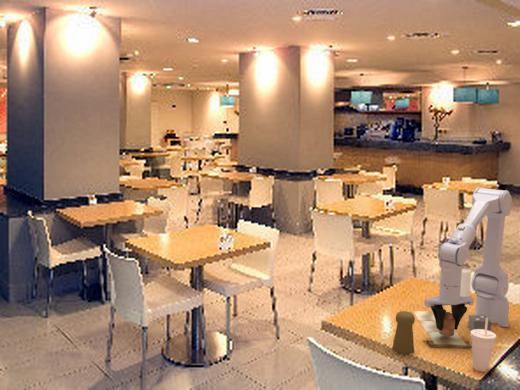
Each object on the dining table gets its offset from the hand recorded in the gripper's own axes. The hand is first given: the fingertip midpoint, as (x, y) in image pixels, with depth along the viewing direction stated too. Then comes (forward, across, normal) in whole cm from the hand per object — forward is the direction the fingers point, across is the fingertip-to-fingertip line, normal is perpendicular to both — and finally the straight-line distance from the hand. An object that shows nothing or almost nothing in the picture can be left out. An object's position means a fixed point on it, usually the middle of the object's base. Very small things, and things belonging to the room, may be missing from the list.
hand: (446, 328), depth 162 cm
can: (+4, -26, -36) cm, 45 cm away
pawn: (+1, 0, 0) cm, 1 cm away
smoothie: (+4, 0, +18) cm, 18 cm away
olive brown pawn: (+4, +15, +4) cm, 16 cm away
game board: (+4, -2, -9) cm, 10 cm away
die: (+4, -13, -4) cm, 14 cm away
